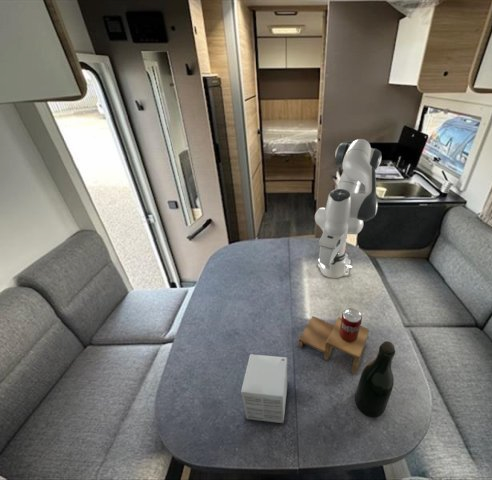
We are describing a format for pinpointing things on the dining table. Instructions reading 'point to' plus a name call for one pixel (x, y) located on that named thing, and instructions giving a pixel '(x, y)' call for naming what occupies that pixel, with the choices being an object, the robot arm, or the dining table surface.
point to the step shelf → (332, 339)
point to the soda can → (350, 325)
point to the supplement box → (265, 388)
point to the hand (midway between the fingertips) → (332, 261)
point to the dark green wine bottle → (376, 383)
